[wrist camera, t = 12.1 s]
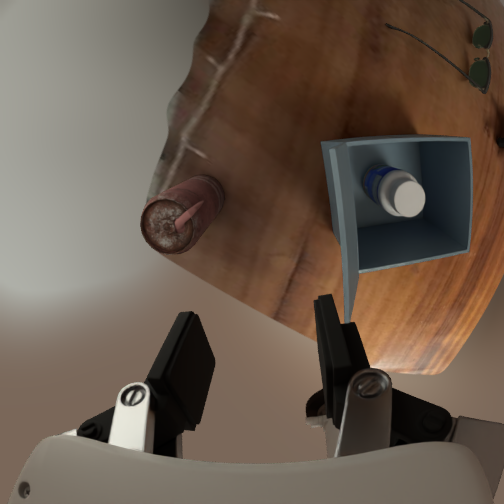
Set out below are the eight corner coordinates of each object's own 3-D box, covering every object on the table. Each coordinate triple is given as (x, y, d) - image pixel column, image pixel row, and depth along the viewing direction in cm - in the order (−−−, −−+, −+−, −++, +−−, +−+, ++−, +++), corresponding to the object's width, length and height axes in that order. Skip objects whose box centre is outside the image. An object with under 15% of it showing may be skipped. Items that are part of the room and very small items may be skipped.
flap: (358, 277, 25) (354, 277, 25) (346, 142, 21) (341, 143, 21) (349, 324, 19) (344, 324, 20) (335, 148, 15) (328, 149, 15)
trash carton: (333, 233, 37) (355, 274, 26) (320, 141, 33) (342, 142, 21) (423, 219, 35) (469, 252, 24) (418, 134, 30) (470, 137, 19)
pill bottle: (399, 167, 32) (435, 178, 23) (393, 205, 34) (425, 226, 25) (364, 160, 33) (393, 168, 24) (359, 199, 35) (384, 219, 26)
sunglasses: (395, -26, 19) (406, -39, 14) (477, 27, 19) (493, 21, 15) (380, 40, 25) (393, 29, 21) (470, 97, 26) (488, 95, 21)
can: (236, 197, 37) (213, 230, 24) (202, 225, 39) (167, 270, 26) (206, 164, 35) (167, 179, 22) (174, 193, 37) (125, 224, 24)
